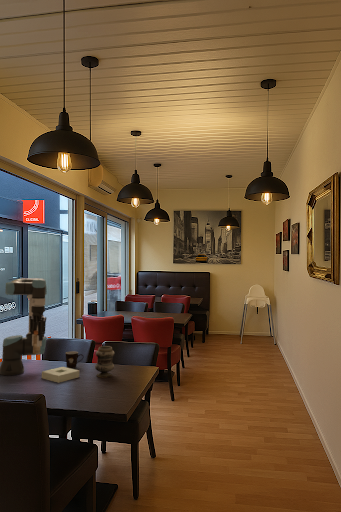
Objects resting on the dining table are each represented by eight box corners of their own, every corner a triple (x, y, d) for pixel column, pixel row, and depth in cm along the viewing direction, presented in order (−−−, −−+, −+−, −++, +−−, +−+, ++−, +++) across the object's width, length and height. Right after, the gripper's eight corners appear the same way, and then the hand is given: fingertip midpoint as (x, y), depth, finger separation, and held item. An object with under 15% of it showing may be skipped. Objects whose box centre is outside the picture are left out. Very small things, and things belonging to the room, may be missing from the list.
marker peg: (31, 353, 217) (32, 330, 218) (37, 352, 220) (38, 330, 221) (35, 354, 215) (36, 331, 215) (41, 353, 218) (42, 330, 219)
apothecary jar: (103, 379, 229) (104, 349, 230) (90, 376, 236) (91, 347, 237) (117, 375, 238) (118, 347, 239) (104, 372, 246) (105, 344, 247)
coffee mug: (62, 368, 255) (62, 353, 255) (69, 365, 263) (69, 351, 264) (77, 369, 251) (77, 354, 252) (84, 366, 260) (84, 352, 260)
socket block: (41, 378, 229) (41, 371, 229) (62, 372, 242) (62, 366, 242) (58, 382, 220) (58, 375, 220) (79, 377, 233) (79, 370, 233)
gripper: (24, 305, 221) (22, 344, 220) (41, 306, 211) (40, 348, 210) (35, 304, 227) (33, 343, 226) (52, 306, 217) (51, 346, 216)
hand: (36, 345), depth 218 cm, fingers closed on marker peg, 4 cm apart
